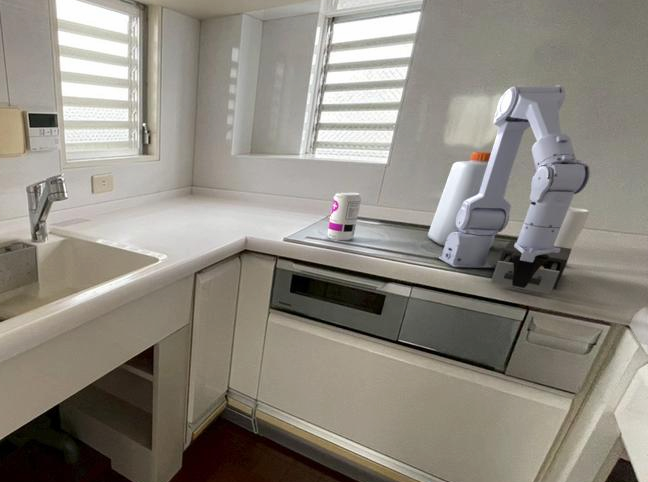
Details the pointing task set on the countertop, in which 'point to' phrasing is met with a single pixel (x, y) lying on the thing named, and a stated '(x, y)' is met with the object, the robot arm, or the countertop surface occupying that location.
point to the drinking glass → (571, 227)
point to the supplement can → (344, 215)
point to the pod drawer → (539, 281)
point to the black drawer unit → (556, 257)
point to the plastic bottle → (458, 195)
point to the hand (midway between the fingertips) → (518, 286)
